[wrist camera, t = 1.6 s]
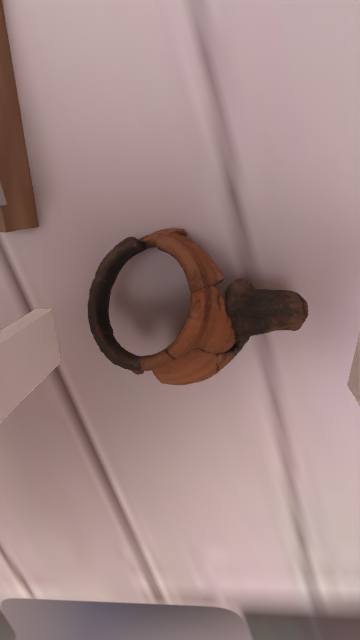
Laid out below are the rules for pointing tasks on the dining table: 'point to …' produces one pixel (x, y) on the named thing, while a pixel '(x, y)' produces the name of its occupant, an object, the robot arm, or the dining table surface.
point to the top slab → (2, 197)
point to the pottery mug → (193, 312)
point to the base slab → (13, 148)
